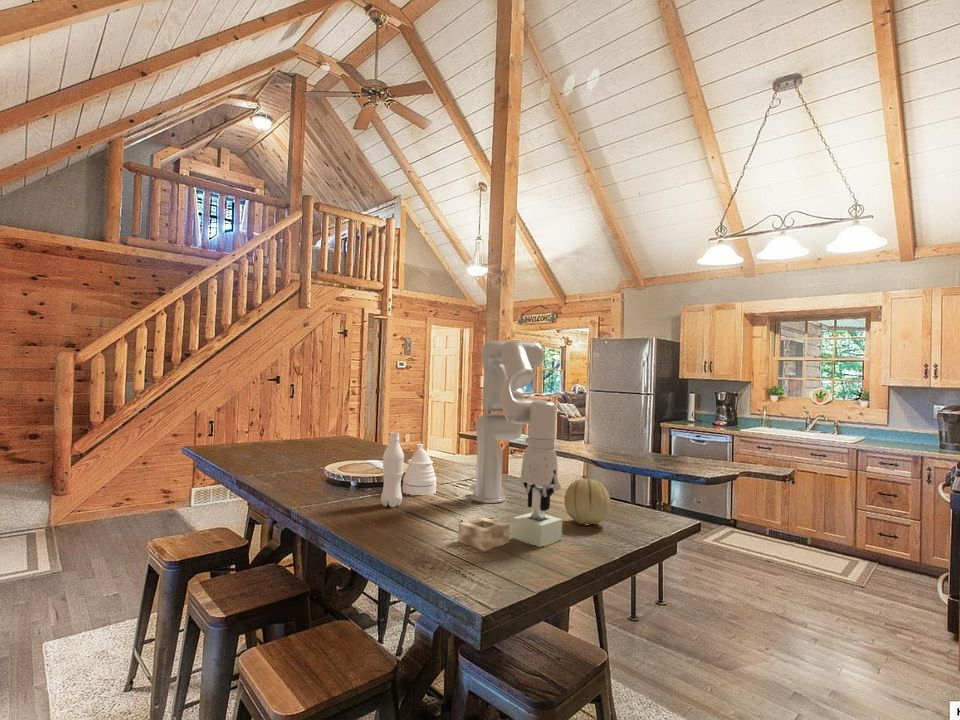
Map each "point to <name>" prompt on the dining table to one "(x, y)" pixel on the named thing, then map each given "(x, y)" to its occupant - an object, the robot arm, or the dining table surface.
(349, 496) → the dining table surface
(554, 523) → the block
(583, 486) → the cantaloupe
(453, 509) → the dining table surface
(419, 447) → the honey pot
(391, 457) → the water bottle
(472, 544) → the socket block
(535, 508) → the steel peg
